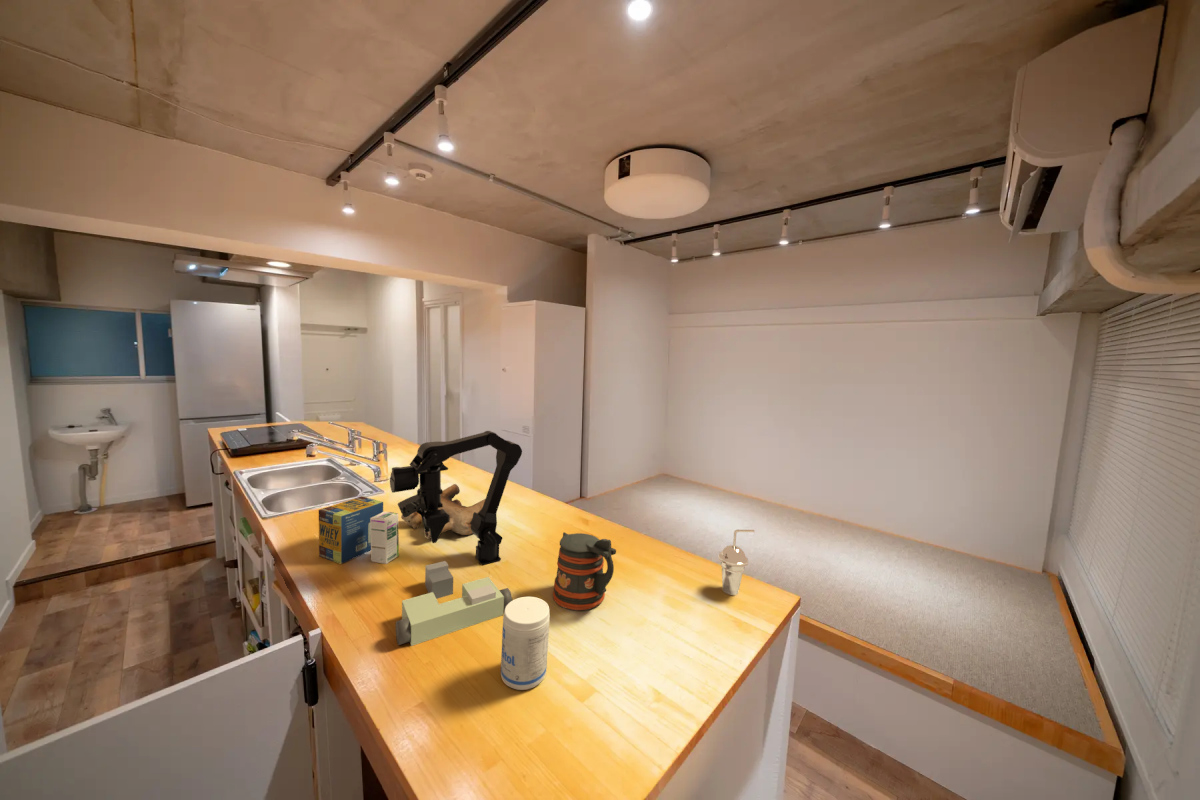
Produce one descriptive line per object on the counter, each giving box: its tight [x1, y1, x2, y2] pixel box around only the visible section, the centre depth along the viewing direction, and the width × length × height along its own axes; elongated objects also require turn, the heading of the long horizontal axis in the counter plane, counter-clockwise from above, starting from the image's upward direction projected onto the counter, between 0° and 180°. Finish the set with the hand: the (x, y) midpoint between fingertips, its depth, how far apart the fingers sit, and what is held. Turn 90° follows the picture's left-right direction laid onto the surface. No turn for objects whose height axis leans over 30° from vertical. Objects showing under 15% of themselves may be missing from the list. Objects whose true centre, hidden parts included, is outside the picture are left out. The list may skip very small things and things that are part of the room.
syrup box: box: [370, 511, 400, 565], centre depth 129 cm, size 6×6×14 cm
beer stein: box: [552, 532, 617, 611], centre depth 113 cm, size 19×15×20 cm
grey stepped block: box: [424, 560, 454, 600], centre depth 114 cm, size 6×8×6 cm
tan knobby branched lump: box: [400, 483, 486, 540], centre depth 155 cm, size 13×31×25 cm
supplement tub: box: [500, 596, 551, 691], centre depth 85 cm, size 10×10×15 cm
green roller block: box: [395, 576, 513, 647], centre depth 103 cm, size 27×11×6 cm, turn 126°
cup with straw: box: [717, 529, 756, 596], centre depth 121 cm, size 8×9×20 cm
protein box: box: [318, 495, 384, 565], centre depth 133 cm, size 10×15×16 cm
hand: (430, 537), depth 121 cm, fingers open, 8 cm apart
